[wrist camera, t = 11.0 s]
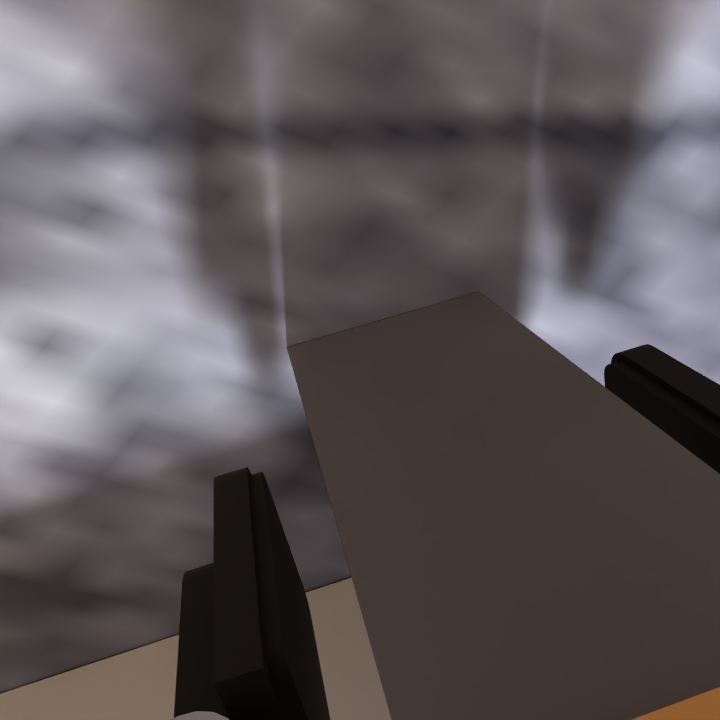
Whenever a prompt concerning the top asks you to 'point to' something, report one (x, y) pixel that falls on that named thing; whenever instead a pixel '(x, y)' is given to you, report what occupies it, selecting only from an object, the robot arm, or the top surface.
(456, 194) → the top surface
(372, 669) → the socket
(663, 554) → the plug
